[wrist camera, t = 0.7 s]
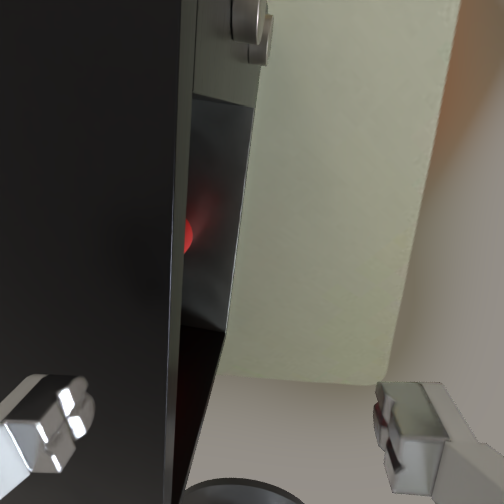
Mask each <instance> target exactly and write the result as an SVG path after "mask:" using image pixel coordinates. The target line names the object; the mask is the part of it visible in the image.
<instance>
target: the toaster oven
mask: <svg viewBox="0 0 504 504" xmlns="http://www.w3.org/2000/svg"><path fill="white" fill-rule="evenodd" d="M267 13H268V5H267V0H0V403H1V402H2V401H3V400H4V399H5V398H6V397H7V396H8V395H9V394H10V393H11V392H12V391H13V390H14V389H15V388H16V387H17V386H18V385H19V384H20V383H21V382H22V381H23V380H24V379H25V378H26V377H28V376H30V375H33V374H44V375H49V374H52V375H72V376H82V377H85V378H86V380H87V383H88V385H89V387H88V389H87V391H86V392H87V393H88V394H90V395H91V396H92V397H93V399H94V402H95V415H94V419H93V422H92V424H91V426H90V428H89V429H88V431H87V433H86V434H84V435H83V436H81V437H80V438H79V439H77V440H76V450H75V451H74V453H73V455H72V456H71V458H70V459H69V461H68V462H67V464H66V465H65V467H64V469H63V470H62V472H61V473H35V472H30V475H29V476H28V477H27V478H25V479H24V480H23V481H22V482H21V483H20V484H18V485H17V486H16V487H15V488H14V489H13V490H11V491H10V492H9V493H8V494H7V495H5V496H4V497H3V498H2V499H1V500H0V504H181V503H182V499H183V495H184V491H185V487H186V484H187V480H188V476H189V473H190V469H191V465H192V461H193V457H194V454H195V450H196V446H197V443H198V439H199V435H200V431H201V428H202V424H203V420H204V417H205V413H206V409H207V406H208V402H209V398H210V394H211V391H212V387H213V383H214V379H215V376H216V372H217V368H218V365H219V361H220V357H221V353H222V350H223V346H224V342H225V338H226V333H227V325H228V317H229V309H230V302H231V294H232V286H233V278H234V270H235V263H236V255H237V247H238V239H239V232H240V224H241V216H242V208H243V200H244V193H245V185H246V177H247V169H248V161H249V154H250V146H251V138H252V130H253V122H254V115H255V107H256V99H257V91H258V84H259V76H260V68H261V66H267V64H268V60H269V55H270V48H271V41H272V32H273V15H269V14H267ZM186 219H187V220H188V222H189V224H190V226H191V228H192V233H193V237H192V242H191V245H190V247H189V248H188V249H187V251H186V252H185V254H184V243H185V224H186Z"/></svg>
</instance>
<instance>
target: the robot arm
mask: <svg viewBox="0 0 504 504" xmlns="http://www.w3.org/2000/svg"><path fill="white" fill-rule="evenodd" d="M88 387H89V385H88V383H87V380H86V378H85V377H82V376H72V375H52V374H49V375H44V374H33V375H30V376H28V377H26V378H25V379H24V380H23V381H22V382H21V383H20V384H19V385H18V386H17V387H16V388H15V389H14V390H13V391H12V392H11V393H10V394H9V395H8V396H7V397H6V398H5V399H4V400H3V401H2V402H1V403H0V500H1V499H2V498H3V497H4V496H5V495H7V494H8V493H9V492H10V491H11V490H13V489H14V488H15V487H16V486H17V485H18V484H20V483H21V482H22V481H23V480H24V479H25V478H27V477H28V476H29V475H30V472H35V473H61V472H62V470H63V469H64V467H65V465H66V464H67V462H68V461H69V459H70V458H71V456H72V455H73V453H74V451H75V450H76V440H77V439H79V438H80V437H81V436H83V435H84V434H86V433H87V431H88V429H89V428H90V426H91V424H92V422H93V419H94V415H95V402H94V399H93V397H92V396H91V395H90V394H88V393H87V392H86V391H87V389H88ZM375 393H376V397H377V400H378V402H377V403H376V404H375V405H374V410H373V419H374V420H373V421H374V429H375V434H376V438H377V442H378V446H379V447H380V448H381V449H382V450H383V451H384V452H385V457H384V467H385V470H386V473H387V476H388V480H389V483H390V487H391V490H392V493H398V494H409V495H420V496H431V497H432V500H433V501H434V502H435V503H436V504H504V456H503V455H501V454H500V453H499V452H497V451H496V450H495V449H493V448H492V447H491V446H489V445H488V444H487V443H479V442H478V440H477V439H476V437H475V435H474V434H473V432H472V430H471V429H470V427H469V425H468V424H467V422H466V421H465V419H464V417H463V416H462V414H461V412H460V411H459V409H458V407H457V406H456V404H455V403H454V401H453V399H452V398H451V396H450V395H449V393H448V391H447V389H446V388H445V386H444V385H443V384H442V383H440V382H419V383H418V382H377V385H376V391H375Z"/></svg>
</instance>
